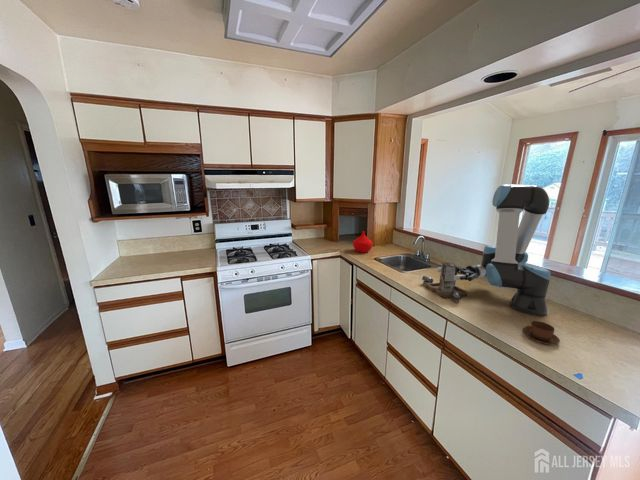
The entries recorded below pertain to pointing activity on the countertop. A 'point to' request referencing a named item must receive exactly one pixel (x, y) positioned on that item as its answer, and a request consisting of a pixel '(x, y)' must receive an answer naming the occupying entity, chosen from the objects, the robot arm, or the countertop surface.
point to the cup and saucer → (541, 333)
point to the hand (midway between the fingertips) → (445, 273)
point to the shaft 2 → (455, 297)
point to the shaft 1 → (427, 280)
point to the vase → (362, 243)
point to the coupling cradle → (435, 288)
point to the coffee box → (447, 277)
